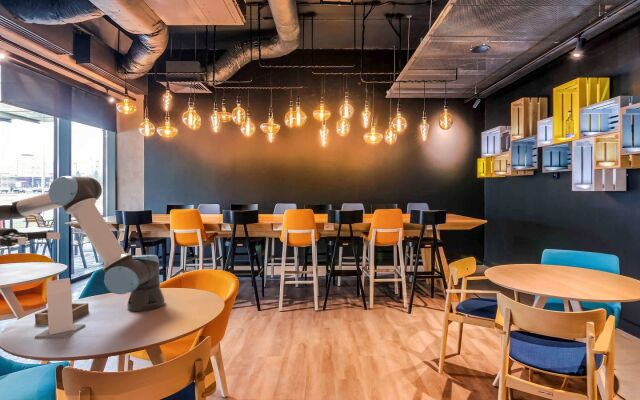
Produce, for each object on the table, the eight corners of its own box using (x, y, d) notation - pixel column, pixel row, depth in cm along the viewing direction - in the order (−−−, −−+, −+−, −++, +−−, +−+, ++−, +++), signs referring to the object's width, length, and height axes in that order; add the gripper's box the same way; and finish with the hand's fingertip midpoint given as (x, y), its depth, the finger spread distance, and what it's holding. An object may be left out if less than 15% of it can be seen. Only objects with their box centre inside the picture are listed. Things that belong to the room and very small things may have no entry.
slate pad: (85, 326, 144) (84, 324, 144) (65, 338, 133) (64, 335, 133) (57, 326, 144) (57, 324, 144) (34, 338, 133) (34, 336, 133)
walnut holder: (88, 312, 160) (88, 303, 160) (67, 323, 147) (67, 313, 147) (59, 312, 160) (58, 303, 160) (35, 324, 147) (34, 314, 147)
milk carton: (73, 330, 138) (70, 279, 137) (49, 335, 133) (46, 283, 132) (71, 324, 143) (68, 276, 142) (48, 329, 139) (46, 279, 138)
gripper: (35, 241, 165) (72, 242, 159) (-31, 251, 141) (9, 253, 135) (34, 224, 165) (71, 225, 159) (-32, 232, 141) (8, 233, 135)
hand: (43, 238), depth 147 cm, fingers open, 13 cm apart
